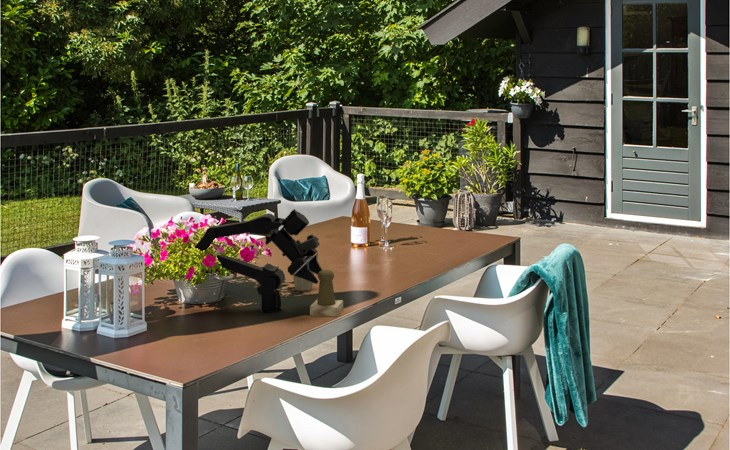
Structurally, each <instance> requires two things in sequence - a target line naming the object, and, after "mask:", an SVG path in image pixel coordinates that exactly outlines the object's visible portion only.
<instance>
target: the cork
mask: <svg viewBox="0 0 730 450" xmlns="http://www.w3.org/2000/svg"><path fill="white" fill-rule="evenodd" d="M317 278H318V279H317V280H318V281H319V282H318V284H319V285H318V294H317V299H318V300H317V304H318V305H322V306H330V305H334V304H335V303H336V302H335V300H336V296H335V288H334V284H333V283H334V282H333V280H334V278H335V274H334V271H333V270H331V269H322V271H320V272H319V273H318V275H317Z"/></svg>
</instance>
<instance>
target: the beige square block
mask: <svg viewBox="0 0 730 450" xmlns="http://www.w3.org/2000/svg"><path fill="white" fill-rule="evenodd" d="M317 300H318V298H317V299H315V300H314V301H313V303H312V304H311V305H309V316H316V317H336V318H337V317H338V316H340V314H341V312H343V311H344V300H342V299H341V300H340V299H339V300H338V299H335V302H336V303H335V304H334V305H330V306H322V305H318V304H317Z"/></svg>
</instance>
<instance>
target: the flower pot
mask: <svg viewBox="0 0 730 450" xmlns="http://www.w3.org/2000/svg"><path fill="white" fill-rule="evenodd" d="M311 272H312V271H311ZM296 273H297V272H295V273H294V274H293V275H292V277H293V283H294V289H295V290H296V291H298V292H305V291H312V290H313V287H314V283H312V282H310V281H307V280H305V279H302V278H300V277H297V276H294V275H295V274H296ZM312 273H313V274H314V275H315V273H314V272H312Z"/></svg>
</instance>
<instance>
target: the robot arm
mask: <svg viewBox="0 0 730 450" xmlns="http://www.w3.org/2000/svg"><path fill="white" fill-rule="evenodd" d="M309 224H310V221H309V220H308V217H306V216H305V215H304V214H302V213H301V212H299V211H297V210H296V209H292V210H291V211H290V212H289V214H288V215H287V216H286V217H284V218H281V217H276V216H275V215H274V214H272V213H264V214H262V215H259V216H257V217H254V218H251V219H248V220H244V221H238V222H231V223H225V224H218V225H212V226H210V227H208V228H207V229H206V231H205V232H204V234H203V235H202V237H201V238H200V240H199V241H198V242H197V244H196V245H195V248H198V249H200V250H201V251H203V250H205V251H206V249H207V248H208V247H209V246H210V244H211V243H212V242H213V240H214V239H215V238H217V239H219V238H225V237H232V236H237V235H243V234H254V235H255V234H257V235H266V236H265V238H264V239H265V245H269V244H271V243H273V244H274V245H275V246H276V247H277V248H278V250H279V251H281V253H282V254H281V255H282V256H283V257H285V256H286V258H287V259H288V260H289V261H290V265H288V267H287V272H288V274H289V275H290V276H292V277H293V274H294V273H295V272H297V273H296V274H295V275H294V276H297V277H300V278H302V279H305V280H307V281H310V282H312V283H313V284H315V285H317V284H319V279H317V277H316V275H317V276H318V273H319V272H320V271H322V270H323V269H322V267H321V265H320V263H319V261H318V258H319V257H318V256H319V253H318V252H319V251H318V250H317V249H316V248H318V247H319V246H320V245H321V244H320V242H319V238H318V237H317V236H316V235H314V234H313V233H312V234H310V235H307V236H306V239H305V240H304V241H301V240H298V239H297V240H296V239H295V238H294V237H292V236H298V235H299V234H300V233H301V232H302V231H303V230H304V229H305V228H306V227H307V226H308V225H309ZM280 227H281V228H280ZM279 228H280V229H279ZM277 229H279V230H277ZM273 230H274V231H273ZM271 232H272V233H271ZM270 233H271V234H270ZM267 234H269V235H267ZM228 256H229V255H227V256H222V255H217V258H218V260H219V261H220V262H221V265H222V267H223V268H222V269H225V270H227V271H230V272H233V273H236V274H238V275H241V276H244V277H246V278H247V277H248V278H250V279H253V280H255V281H256V282H257V283H258V284H259V286H257V288H256V290H257V291H256V292H257V293H258V306H257V310H258V311H260V312H261V313H263V314H265V313H267V314H268V313H273V312H274V313H275V312H281V311H283V310H282V295H280V290H279V289H280V287H281V286H282V284H284V282H285V279H286V275H285V273H284V270H282V269H281V268H280V266H275V265H272V264H271V263H268V262H267V263H266V264H265V265H264V266H259V265H256V264H252V263H251V262H247V261H244V260H242V259H238V258H235V257H233V256H230V257H228ZM311 271H312V272H314V274H313V273H312V272H311ZM315 274H316V275H315Z"/></svg>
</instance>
